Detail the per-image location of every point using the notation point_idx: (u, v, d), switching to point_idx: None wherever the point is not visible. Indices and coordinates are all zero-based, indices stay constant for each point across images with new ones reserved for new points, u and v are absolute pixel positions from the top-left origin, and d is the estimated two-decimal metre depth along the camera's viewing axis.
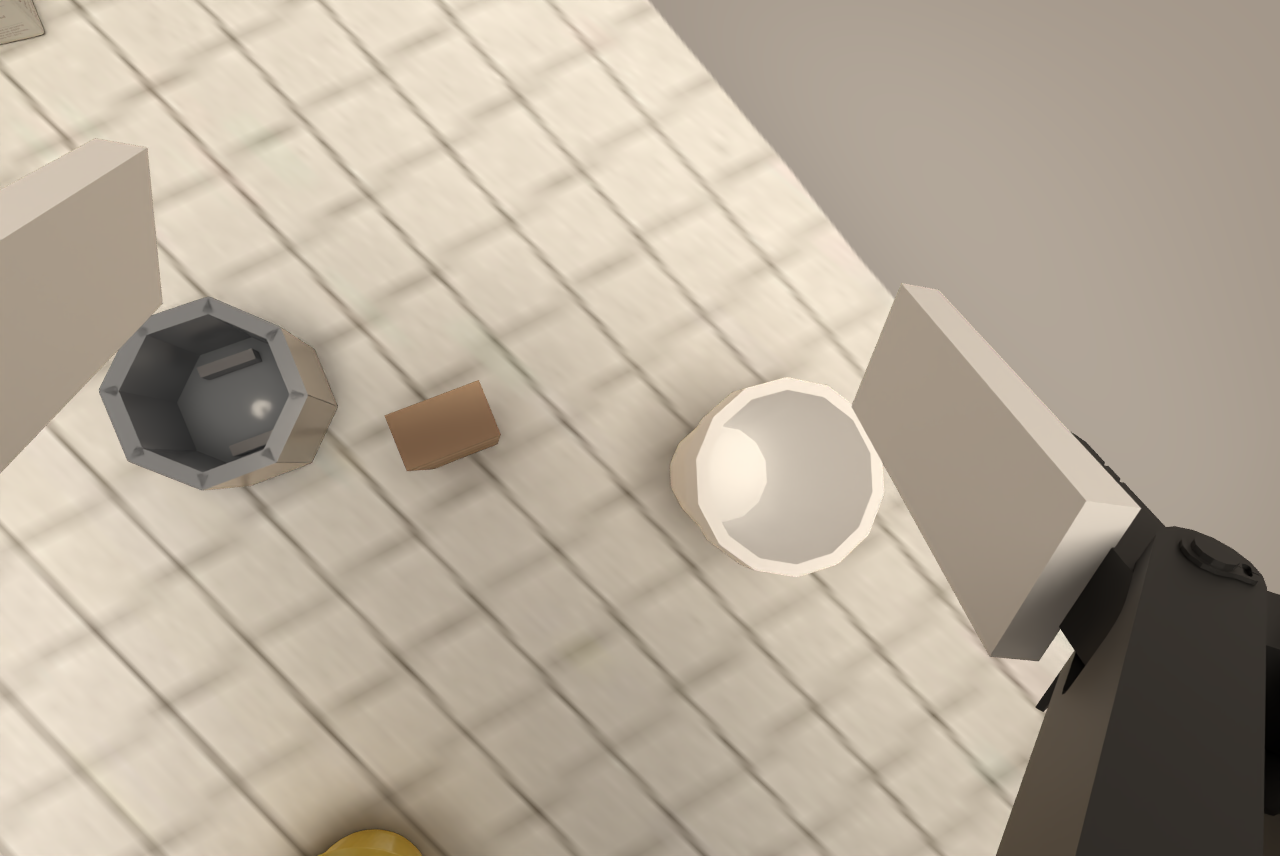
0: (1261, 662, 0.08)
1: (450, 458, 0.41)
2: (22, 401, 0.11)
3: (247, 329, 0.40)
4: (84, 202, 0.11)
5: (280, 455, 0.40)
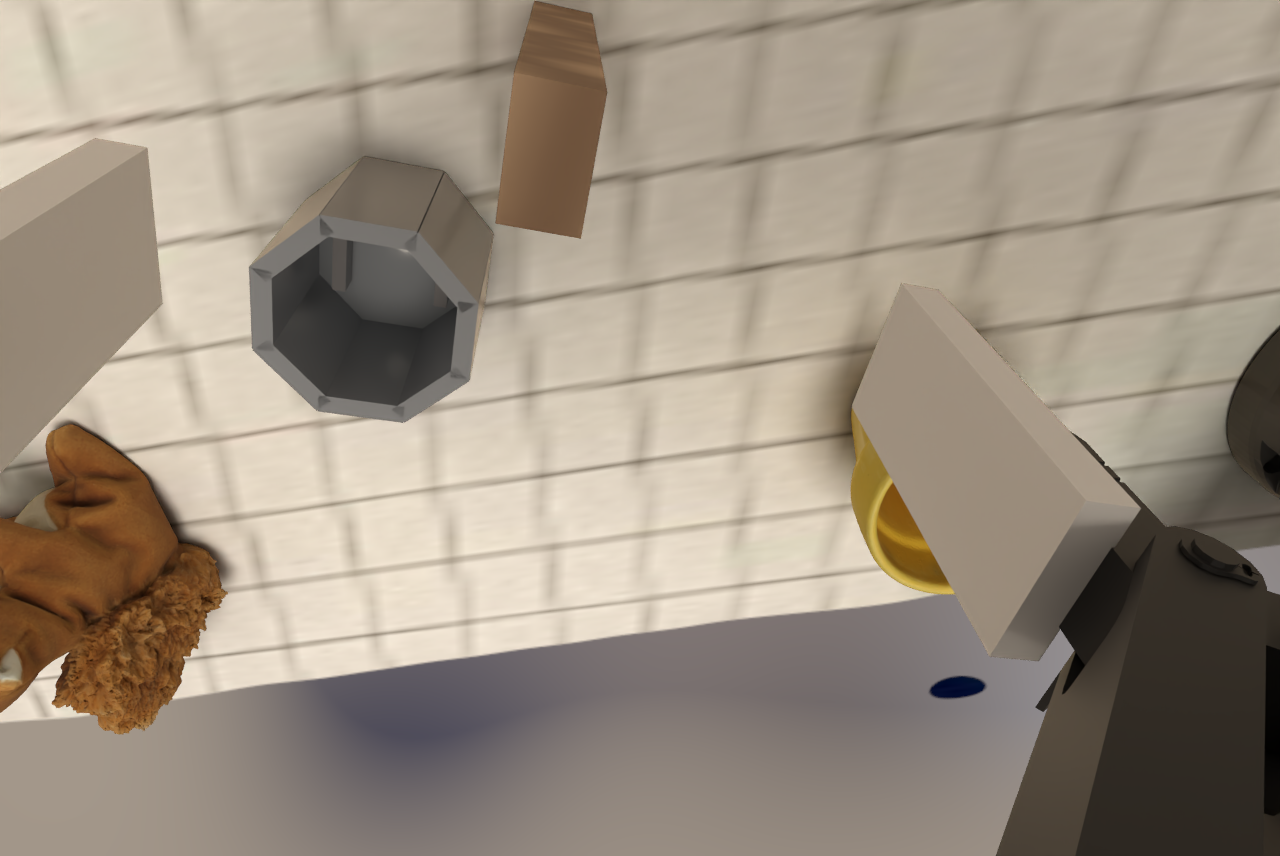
0: (1261, 662, 0.08)
1: None
2: (22, 401, 0.11)
3: (307, 249, 0.31)
4: (84, 202, 0.11)
5: (472, 295, 0.33)
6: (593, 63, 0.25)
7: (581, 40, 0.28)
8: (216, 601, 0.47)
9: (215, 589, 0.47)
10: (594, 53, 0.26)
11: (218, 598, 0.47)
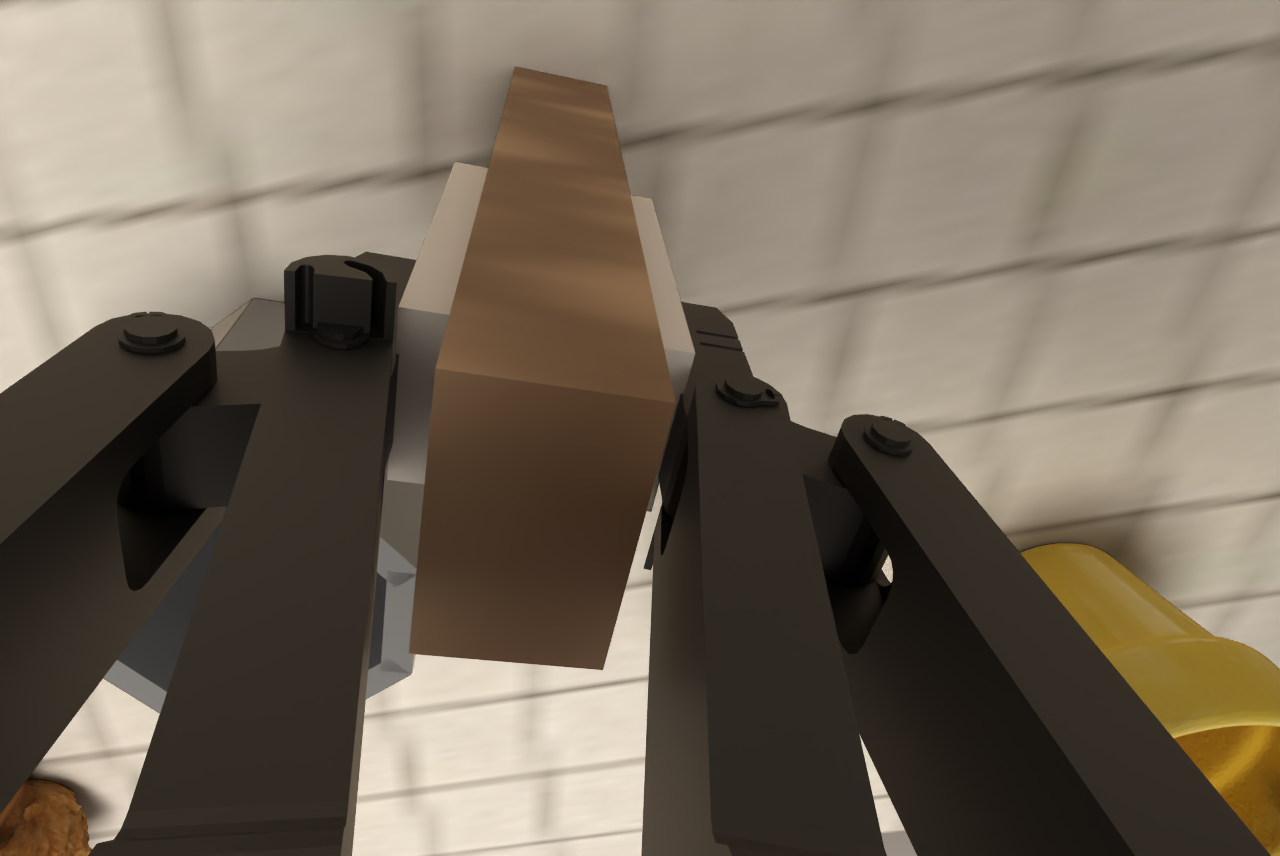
0: (799, 475, 0.09)
1: None
2: None
3: None
4: None
5: (412, 560, 0.20)
6: (626, 258, 0.12)
7: (596, 171, 0.15)
8: None
9: (76, 852, 0.34)
10: (624, 214, 0.13)
11: None
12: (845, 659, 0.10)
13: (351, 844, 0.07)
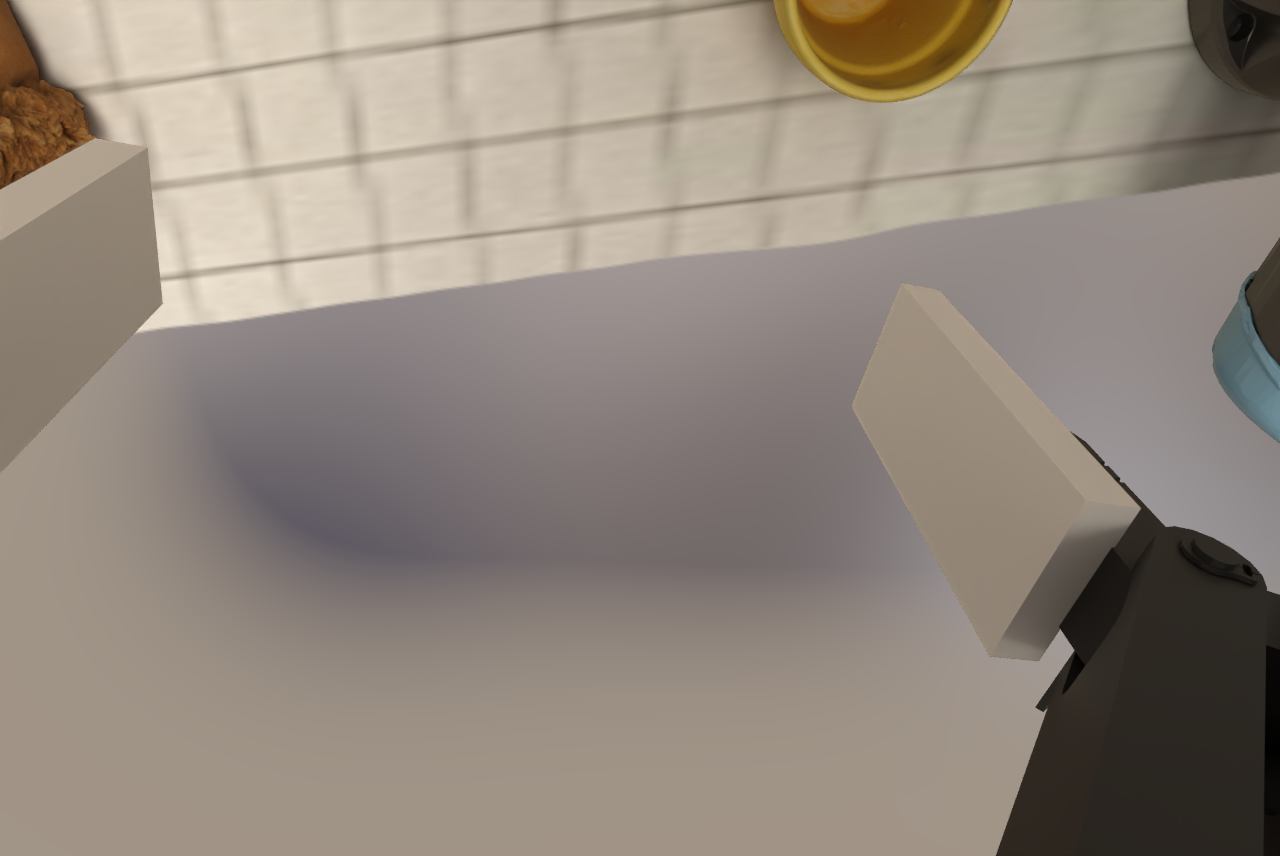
0: (1261, 662, 0.08)
1: None
2: (22, 401, 0.11)
3: None
4: (84, 203, 0.11)
5: None
6: None
7: None
8: (82, 142, 0.43)
9: (80, 128, 0.43)
10: None
11: (84, 140, 0.43)
12: None
13: None
